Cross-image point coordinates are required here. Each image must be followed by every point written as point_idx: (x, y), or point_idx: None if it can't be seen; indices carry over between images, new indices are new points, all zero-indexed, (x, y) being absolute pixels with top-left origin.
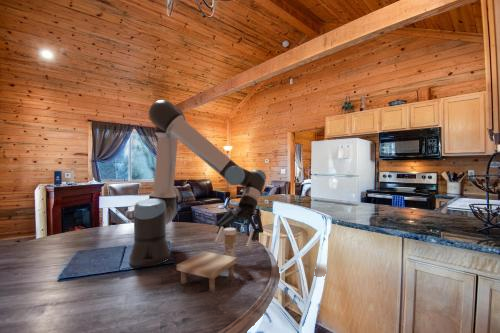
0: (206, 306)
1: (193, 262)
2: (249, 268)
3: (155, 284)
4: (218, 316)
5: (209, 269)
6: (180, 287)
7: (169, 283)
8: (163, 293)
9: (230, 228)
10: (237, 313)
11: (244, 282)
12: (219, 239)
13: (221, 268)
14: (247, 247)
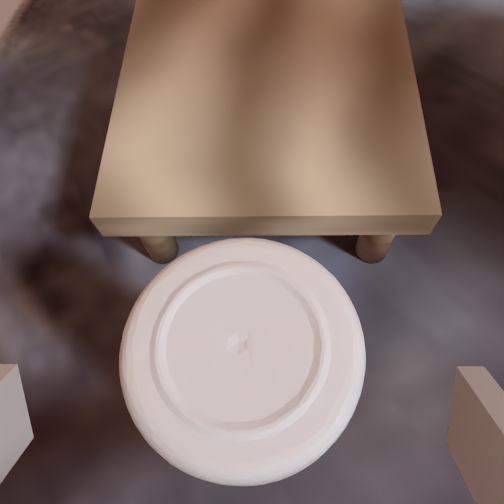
0: None
1: (336, 40)
2: (85, 411)
3: (459, 41)
4: (80, 6)
5: (181, 16)
6: None
7: None
8: None
9: (248, 374)
10: (23, 36)
11: (61, 218)
12: (474, 448)
13: (126, 54)
14: (21, 398)
